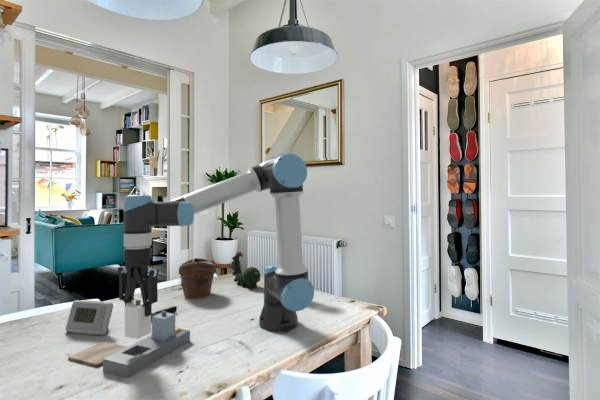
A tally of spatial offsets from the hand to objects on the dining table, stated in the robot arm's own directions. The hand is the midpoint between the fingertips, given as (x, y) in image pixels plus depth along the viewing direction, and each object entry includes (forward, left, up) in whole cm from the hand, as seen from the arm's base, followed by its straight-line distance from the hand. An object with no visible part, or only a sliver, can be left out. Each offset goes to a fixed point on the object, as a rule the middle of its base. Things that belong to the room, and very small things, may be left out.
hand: (138, 325), depth 102 cm
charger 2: (0, -11, -10) cm, 14 cm away
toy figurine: (+14, -89, -11) cm, 91 cm away
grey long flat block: (0, -5, -11) cm, 12 cm away
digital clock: (+34, -10, -11) cm, 37 cm away
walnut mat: (+14, +1, -11) cm, 18 cm away
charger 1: (0, 0, -3) cm, 3 cm away
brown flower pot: (+28, -64, -11) cm, 71 cm away
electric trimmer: (+22, -32, -12) cm, 40 cm away
